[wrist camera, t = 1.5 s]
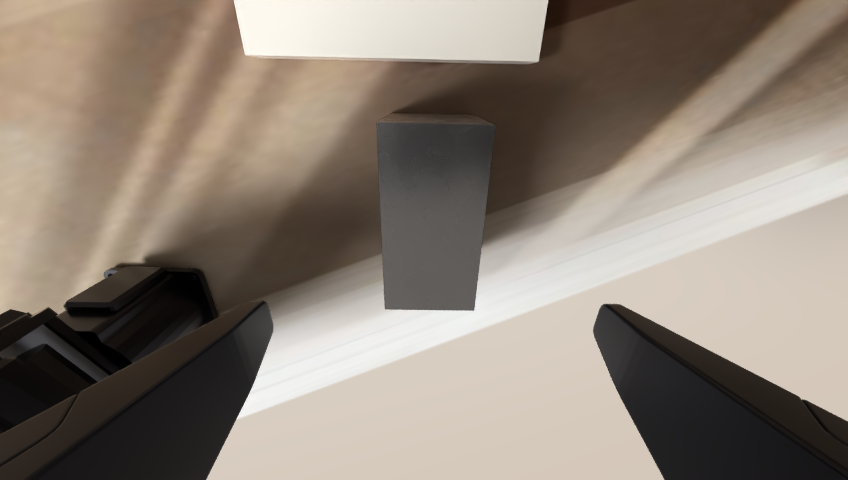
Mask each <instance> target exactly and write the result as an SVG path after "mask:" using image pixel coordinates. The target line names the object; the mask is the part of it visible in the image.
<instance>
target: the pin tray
mask: <svg viewBox="0 0 848 480" xmlns="http://www.w3.org/2000/svg"><path fill="white" fill-rule="evenodd" d="M234 3H235V8H236V13H237V18H238V23H239V28H240V33H241V37H242V42H243V47H244V52H245V55H247V56H252V57H256V58H267V59H311V60H356V61H400V62H444V63H489V64H532V63H536V62H539V56H540V49H541V43H542V37H543V31H544V24H545V18H546V12H547V6H548V0H234Z"/></svg>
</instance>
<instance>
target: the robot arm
mask: <svg viewBox="0 0 848 480" xmlns="http://www.w3.org/2000/svg"><path fill="white" fill-rule="evenodd" d="M193 275H194V276H195V277H194V276H193ZM104 276H105V278H106V279H104V280H102V281H100V282H99V283H97V284H95V285H94V286H92V287H90V288H88V289H87V290H85V291H83V292H82V293H80V294H78V295H76V296H75V297H73V298H71V299H70V300H68V301H67V302H66V303H65V304H64V308H65V310H66V311H64V312H62V313H61V314H59V315H58V314H57V313H56V312H54V311H53V310H52V309H51V308H49V307H48V308H46V309H44V310H42V311H40V312H38V313H36V314H34V315H31V314H30V313H29V312H28V313H24V312H20V311H15V310H11V309H10V310H8V311H6V312H4V313H2V314H0V480H206V479H207V477H208V475H209V473H210V471H211V469H212V467H213V465H214V463H215V461H216V459H217V457H218V455H219V453H220V450H221V449H222V446H223V445H224V443H225V441H226V439H227V437H228V435H229V433H230V431H231V429H232V427H233V425H234V423H235V421H236V419H237V417H238V415H239V413H240V411H241V409H242V407H243V405H244V403H245V401H246V399H247V397H248V395H249V392H250V390H251V388H252V386H253V383H254V381H255V379H256V376H257V373H258V371H259V368H260V365H261V363H262V360H263V357H264V355H265V352H266V349H267V347H268V344H269V341H270V339H271V336H272V333H273V322H272V318H271V314H270V310H269V306H268V304H267V302H265V301H248V302H246V303H244V304H242V305H240V306H238V307H237V308H235V309H233V310H231V311H229V312H227V313H226V314H224V315H222V316H220V317H218V315H217V312H216V309H215V306H214V303H213V300H212V298H211V295H210V292H209V289H208V286H207V283H206V281H205V278H204V275H203V273H202V272H201V271H200V270H198V269H183V268H163V267H133V266H127V267H124V268H117V267H114V268H111V269H109V270H107V271H105V272H104ZM593 332H594V337H595V339H596V342H597V344H598V347H599V349H600V351H601V354H602V356H603V359H604V361H605V363H606V366H607V368H608V371H609V373H610V376H611V378H612V380H613V383H614V385H615V387H616V389H617V391H618V393H619V395H620V397H621V399H622V401H623V403H624V405H625V407H626V409H627V410H628V412H629V414H630V416H631V418H632V420H633V422H634V424H635V425H636V427H637V429H638V431H639V433H640V435H641V437H642V438H643V440H644V442H645V444H646V446H647V448H648V449H649V452H650V453H651V455H652V457H653V459H654V461H655V463H656V464H657V466H658V468H659V470H660V472H661V474H662V476H663V478H664V480H848V421H846V420H844V419H842V418H840V417H838V416H836V415H834V414H832V413H830V412H828V411H826V410H824V409H822V408H820V407H818V406H816V405H814V404H812V403H810V402H809V401H807V400H801V399H800V397H798V396H797V395H795V394H793V393H791V392H789V391H787V390H785V389H783V388H781V387H779V386H777V385H775V384H773V383H772V382H769V381H768V380H766V379H764V378H762V377H760V376H758V375H756V374H754V373H752V372H750V371H748V370H746V369H744V368H742V367H740V366H738V365H737V364H735V363H733V362H731V361H729V360H727V359H725V358H723V357H721V356H719V355H717V354H715V353H713V352H711V351H709V350H707V349H705V348H704V347H702V346H700V345H698V344H696V343H694V342H692V341H690V340H688V339H686V338H684V337H682V336H680V335H678V334H676V333H674V332H672V331H670V330H669V329H667V328H665V327H663V326H661V325H659V324H657V323H655V322H653V321H651V320H649V319H647V318H645V317H643V316H641V315H639V314H638V313H636V312H634V311H632V310H630V309H628V308H626V307H624V306H622V305H619V304H603V305H602V306H601V308H600V309H599V313H598V315H597V319H596V321H595V324H594V329H593Z"/></svg>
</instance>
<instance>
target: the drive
mask: <svg viewBox="0 0 848 480" xmlns="http://www.w3.org/2000/svg"><path fill="white" fill-rule="evenodd" d="M376 125H377V147H378V169H379V191H380V213H381V235H382V256H383V278H384V300H385V309H401V310H472V311H474V307H475V298H476V290H477V281H478V273H479V264H480V255H481V247H482V238H483V230H484V221H485V213H486V204H487V195H488V187H489V178H490V170H491V161H492V153H493V144H494V135H495V127H496V125H495V124H493V123H490V122H488V121H486V120H484V119H481V118H479V117H477V116H475V115H459V114H413V113H390V114H389V115H387V116H386V117H384V118H382V119H381V120H379V121H378V122H376Z"/></svg>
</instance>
